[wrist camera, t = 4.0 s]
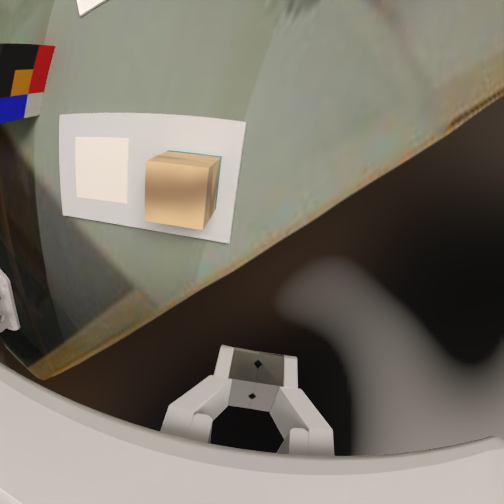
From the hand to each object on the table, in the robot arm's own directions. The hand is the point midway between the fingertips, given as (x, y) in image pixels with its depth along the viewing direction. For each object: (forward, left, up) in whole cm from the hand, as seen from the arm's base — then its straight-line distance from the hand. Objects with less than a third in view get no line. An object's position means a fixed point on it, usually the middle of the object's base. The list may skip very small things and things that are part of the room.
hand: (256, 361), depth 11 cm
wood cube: (0, +9, -23) cm, 25 cm away
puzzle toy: (+13, +37, -24) cm, 46 cm away
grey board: (0, +16, -24) cm, 29 cm away
